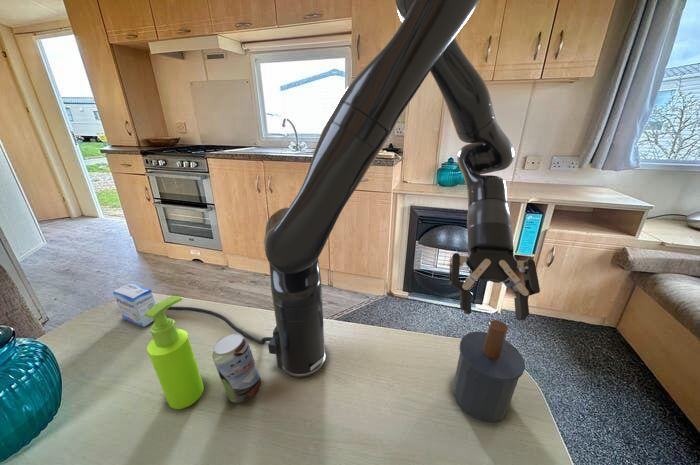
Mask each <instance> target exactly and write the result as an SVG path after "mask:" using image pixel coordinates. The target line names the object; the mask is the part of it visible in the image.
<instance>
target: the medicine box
mask: <svg viewBox="0 0 700 465" xmlns="http://www.w3.org/2000/svg"><path fill="white" fill-rule="evenodd" d="M112 294H113V296H114V299H115V302H116V304H117V307H118V310H119V312H120V315H121V317H122V319H123V320H124V321H127V322H130V323H132V324H135V325H137V326H140V327H142V328H144V327H146V326H148V325H149V324H151V323H154V320H153V319H152V318H149V317H146V316H145V314H144V313H146V312H147V311H148V310H150V309H151V308H152V307H154V306H155V305H156V304H157V303H156V299H155V297H154V294H153V291H152V289H150V288H147V287H144V286H141V285H138V284H135V283H132V282H129V283H127V284H125V285H122V286H120V287H117V289H115V290H113V291H112Z"/></svg>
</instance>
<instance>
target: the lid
mask: <svg viewBox="0 0 700 465" xmlns="http://www.w3.org/2000/svg"><path fill="white" fill-rule="evenodd" d="M508 329H509V327H508V325H507V324H506V323H505V322H503V321H501V320H498V319H493V320H491V321H489V325H488V329H487V331H486V332H485V331H472V332H469V333H467V334H465V335H464V336H462V338H460V342H459V354H460V353H461V355H462V358H463V359H464V361H465V362H466V363H467V364H468V365H469V366H470V367H471V368H472V369H473V370H475V371H476V372H477V373H479V374H481V375H483V376H485V377H487V378H490V379H493V380H497V381H513V380H516V379H518V378H521V377H522V375H523V374H524V373H525V368H526V362H525V359H524V357H523V355H522V353H521V352H520V351H519V350H518V348H517V347H516V346H515V345H514V344H512V343H511V342H510V341H508V340H506V336H507V333H508ZM518 380H519V379H518Z"/></svg>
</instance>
